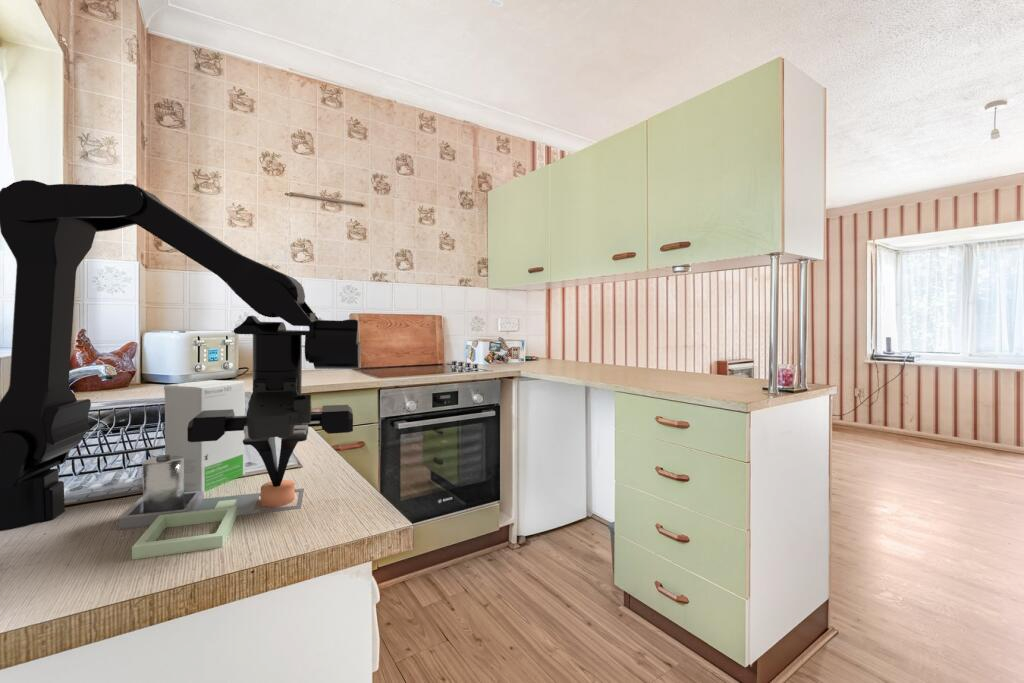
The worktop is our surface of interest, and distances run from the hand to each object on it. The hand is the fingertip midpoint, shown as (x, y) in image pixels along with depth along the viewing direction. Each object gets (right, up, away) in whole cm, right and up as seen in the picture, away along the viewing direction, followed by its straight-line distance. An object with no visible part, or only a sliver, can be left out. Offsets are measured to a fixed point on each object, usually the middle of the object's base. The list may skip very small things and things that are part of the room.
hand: (277, 485), depth 60 cm
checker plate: (-7, -3, -2) cm, 8 cm away
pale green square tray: (-5, -3, -10) cm, 11 cm away
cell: (-12, -2, -5) cm, 13 cm away
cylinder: (0, -3, 0) cm, 3 cm away
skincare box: (-14, -3, +6) cm, 15 cm away
